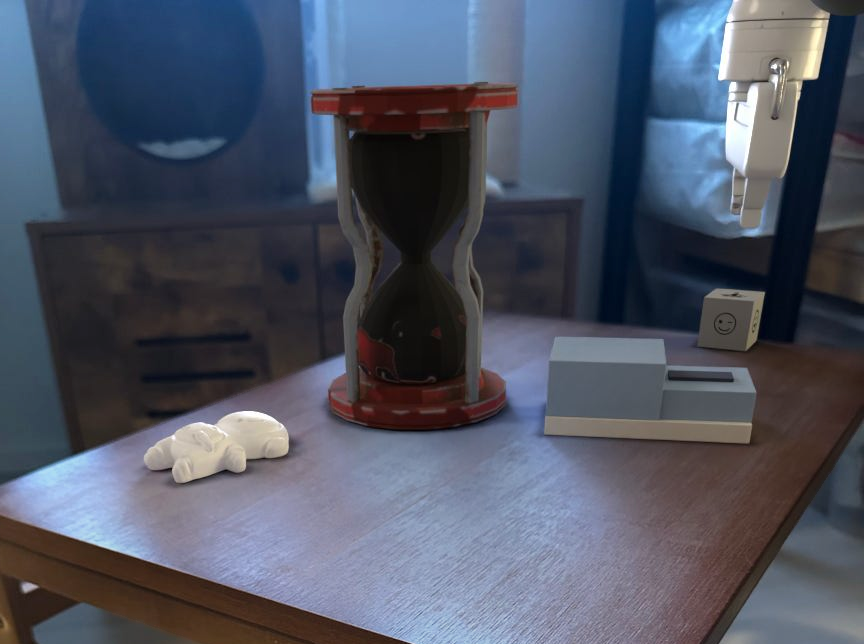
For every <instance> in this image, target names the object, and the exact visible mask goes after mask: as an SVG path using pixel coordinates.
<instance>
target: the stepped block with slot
mask: <svg viewBox="0 0 864 644" xmlns="http://www.w3.org/2000/svg"><path fill="white" fill-rule="evenodd" d="M757 394H758V393H757V390H756V388H755V385H754V383H753V380H752V377H751V374H750V372H749V369H748V367H733V366H731V367H730V366H700V365H699V366H697V365H667V356H666V349H665V341H664V339H663V338H637V337H636V338H635V337H629V338H628V337H598V336H597V337H595V336H594V337H593V336H555V338H554V342H553V345H552V348H551V352H550V356H549V360H548V371H547V386H546V402H545V416H544V417H545V418H544V432H543V433H544V435H545V436H546V435H548V436H568V437H569V436H570V437H592V438H593V437H594V438H613V439H614V438H616V439H636V440H637V439H638V440H660V441H679V442H681V441H682V442H701V443H702V442H704V443H705V442H707V443H725V444H726V443H727V444H746V445H747V444H750V442H751V441H750V440H751V435H752V428H753V424H752V422H753V416H754V411H755V405H756V399H757Z"/></svg>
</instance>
